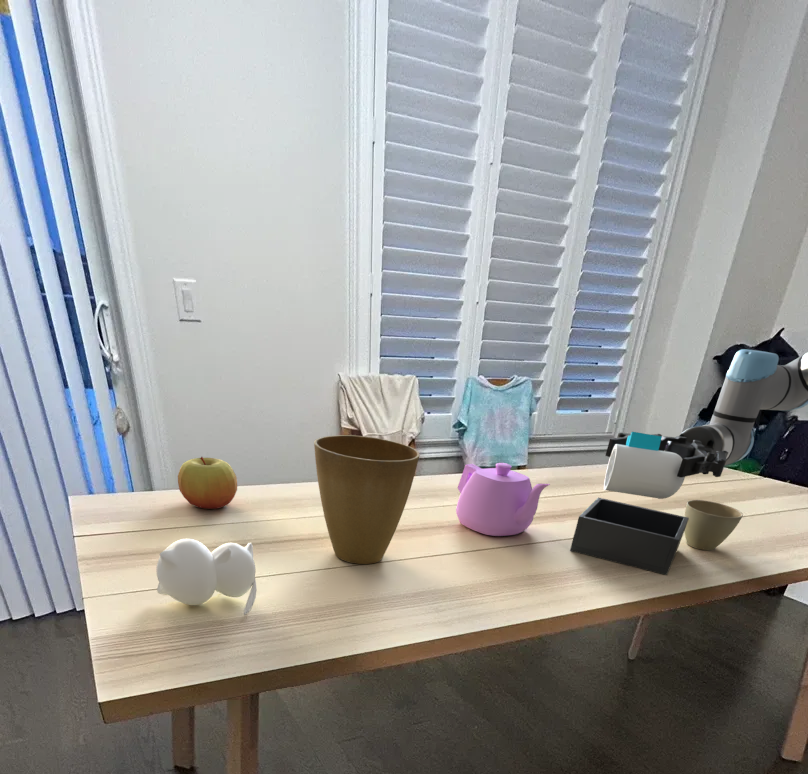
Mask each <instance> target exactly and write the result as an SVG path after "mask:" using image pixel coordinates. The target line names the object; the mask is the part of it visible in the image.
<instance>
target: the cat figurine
mask: <svg viewBox="0 0 808 774" xmlns="http://www.w3.org/2000/svg"><path fill="white" fill-rule="evenodd" d="M254 560H255V559H254V546H253V543H252V542H248V543H247V545H246V546H242V545H240V543H239V544H238V543H236V542H226V543H223V544H221V545H219V546H218V547H216V548H214V550H213V551H211V550H209V548H208V547H207V546H206V545H205V544H204V543H203V542H200V541H199V540H197V539H194V538H180V539H178V540H176V541H174V542H172V543H171V544H169V545H168V546H167V547H166V548H165V549H164V550H162V551H161V552H159V557H158V561H157V563H156V577H157V581H158V584H157V587H156V591H157V594H158V595H162V596H168V597H171V598H172V599H174V601H177V602H179V603H181V604H184V605H187V606H200V605H203V604H205V603H206V602H208V601H209V600H210V599H211V598H212V596H213V595H214V593H215V591H216V592H217V593H219V594H221V595H224V596H227V597H229V598H241V597H243V596H244V595H246V594H247V593H248V592H249V591H250V592H249V594H248V597H247V600H246V603H245V606H244V609H243V616H244V617H246V616H247V615H248V614H249V613H250V612H251V610H252V608H253V606H254V604H255V600H256V598H257V592H258V591H257V581H256V569H257V568H256V564H255V561H254Z"/></svg>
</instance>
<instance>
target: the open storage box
mask: <svg viewBox="0 0 808 774" xmlns="http://www.w3.org/2000/svg"><path fill="white" fill-rule="evenodd" d="M688 519H689V518H688V517H684V515H679V514H674V513H669V512H665V511H661V510H656V509H653V508H647V507H643V506H638V505H634V504H630V503H626V502H621V501H616V500H611V499H609V498H608V499H607V498H604V497H597V498H596V499H595V500H594V501H593V502H592V503H591V504H590V505H589V506H588V507H587V508H586V509H585V510H583V512H582V513H581V514H580V515H579V516H578V519H577V522H576V526H575V530H574V534H573V537H572V541H571V546H570V550H569V551H571V552H574V553H578V554H582V555H585V556H586V555H587V556H591V557H594V558H597V559H601V560H605V561H610V562H613V563H618V564H622V565H625V566H630V567H634V568H637V569H642V570H646V571H649V572H653V573H657V574H660V575H665V576H668V573H669V571H670V568H671V566H672V564H673V561H674V559H675V557H676V554H677V553H678V550H679V547H680V544H681V541H682V538H683V535H684V534H685V532H684V530H685V528H686V525H687V522H688Z"/></svg>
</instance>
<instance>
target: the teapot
mask: <svg viewBox="0 0 808 774" xmlns="http://www.w3.org/2000/svg"><path fill="white" fill-rule="evenodd" d="M512 467H513V466H512V465H511V464H509V463H506V462H497V463H495V467H485V468H482V467H480V466H478V465H476V464H474V463H467V464H465V465H464V468H463V471H462V473H461V477H460V479H459V482H458V485H457V490H458V491H459V493H460V494H459V497H458V499H457V503H456V508H455V514H456V516H457V517H456V518H457V519H458V521H459V523H460V524H461V525H462V526H464V527H466V528H468V529H470V530H472V531H475V532H478V533H480V534H483V535H486V536H493V537H494V536H495V537H503V536H504V537H505V536H506V537H507V536H514V535H518V534H521V533H524V532H525V531H526V530H527V529H528V528H529V527H530V526H531V524H532V523H533V520H534V516H536V515H535V514H536V513H537V510H538V507H539V501H540V497H541V494H542V492H543V490H544V489H545V488H547V487H549V486H551V484H550V483H537V484H535V485H534V486H533V487H532V482H531V479H530V477H529V476H528V475H526V474H523V473H520V472H517V471H515V470H511V469H512Z"/></svg>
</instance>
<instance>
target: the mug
mask: <svg viewBox="0 0 808 774" xmlns="http://www.w3.org/2000/svg"><path fill="white" fill-rule="evenodd" d="M630 434H631V435H629V436H628V438H627V442H626V445H619V444H615V446H614V448H613V450H612V453H611V456H610V457H609V459H608V463H607V467H606V471H605V475H604V481H603V491H606V492H607V491H608V492H614V493H615V492H616V493H619V494H627V495H633V496H641V497H645V498H646V497H647V498H652V499H659V500H663V499H664V500H665V499H668V498H671V497H672V496H674V495H675V494H676V493H677V492H678V491H679V490H680V489H681V487H682V486H683V484H684V481H685V478H686V477H682V478H681V477H677V474H678V471H679V468H680V465H681V462H682V458H681V457H680V456H679V455H678V454H676V453H673V452H666V451H660V450H659V446H660V442H661V438H662V437H663V435H662V436H656V435H652V434H649V433H645V432H644V433H643V432H637V431H631V432H630Z"/></svg>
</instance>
